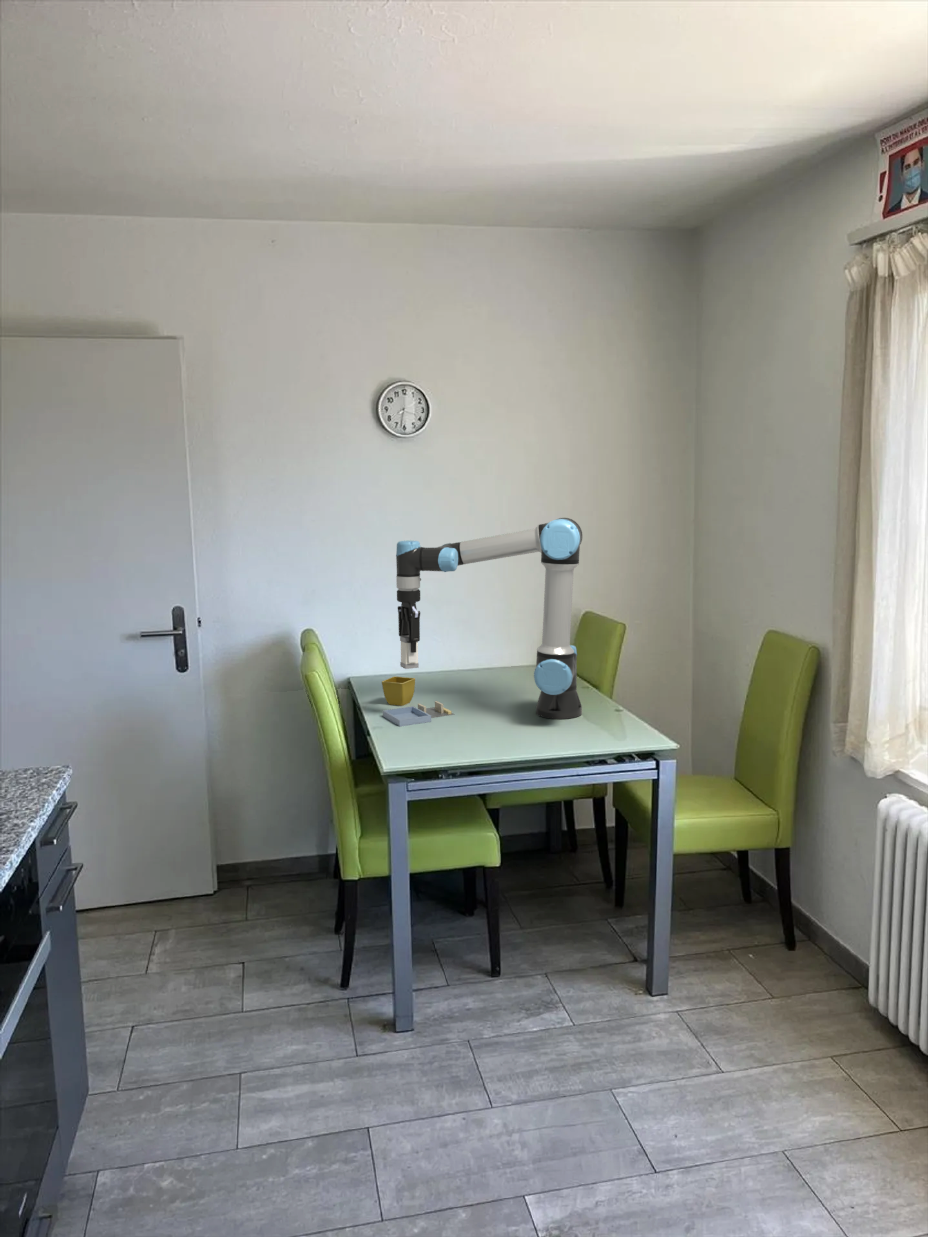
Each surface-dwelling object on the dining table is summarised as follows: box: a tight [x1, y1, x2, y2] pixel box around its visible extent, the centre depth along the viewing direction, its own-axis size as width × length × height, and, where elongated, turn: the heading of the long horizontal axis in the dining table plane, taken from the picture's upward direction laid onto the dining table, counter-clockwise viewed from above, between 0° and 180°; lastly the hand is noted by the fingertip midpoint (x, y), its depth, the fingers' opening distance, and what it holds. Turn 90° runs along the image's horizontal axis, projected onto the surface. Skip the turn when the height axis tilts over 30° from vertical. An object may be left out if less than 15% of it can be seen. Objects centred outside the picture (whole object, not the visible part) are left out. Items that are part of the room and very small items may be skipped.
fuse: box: [399, 635, 419, 670], centre depth 294 cm, size 4×4×10 cm
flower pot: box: [381, 676, 416, 707], centre depth 315 cm, size 9×9×9 cm
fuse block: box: [417, 700, 455, 719], centre depth 303 cm, size 12×10×4 cm
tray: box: [382, 705, 432, 727], centre depth 295 cm, size 14×11×2 cm
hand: (409, 660), depth 295 cm, fingers closed on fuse, 4 cm apart
